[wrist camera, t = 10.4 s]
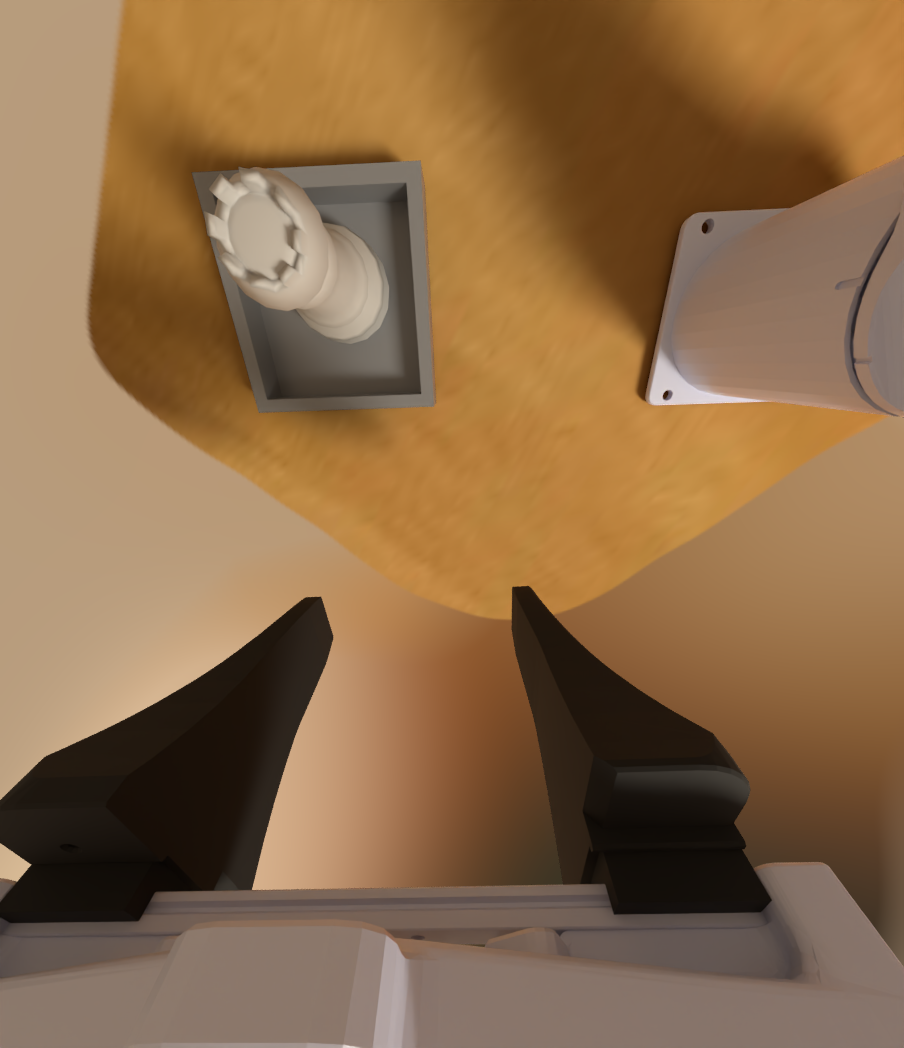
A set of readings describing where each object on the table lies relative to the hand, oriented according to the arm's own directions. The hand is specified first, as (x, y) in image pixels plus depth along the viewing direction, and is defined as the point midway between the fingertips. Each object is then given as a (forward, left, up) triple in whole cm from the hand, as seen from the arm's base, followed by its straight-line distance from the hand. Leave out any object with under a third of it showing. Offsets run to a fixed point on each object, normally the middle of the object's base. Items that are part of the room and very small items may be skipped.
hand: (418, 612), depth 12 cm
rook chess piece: (+4, -12, -10) cm, 16 cm away
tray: (+4, -11, -10) cm, 15 cm away
